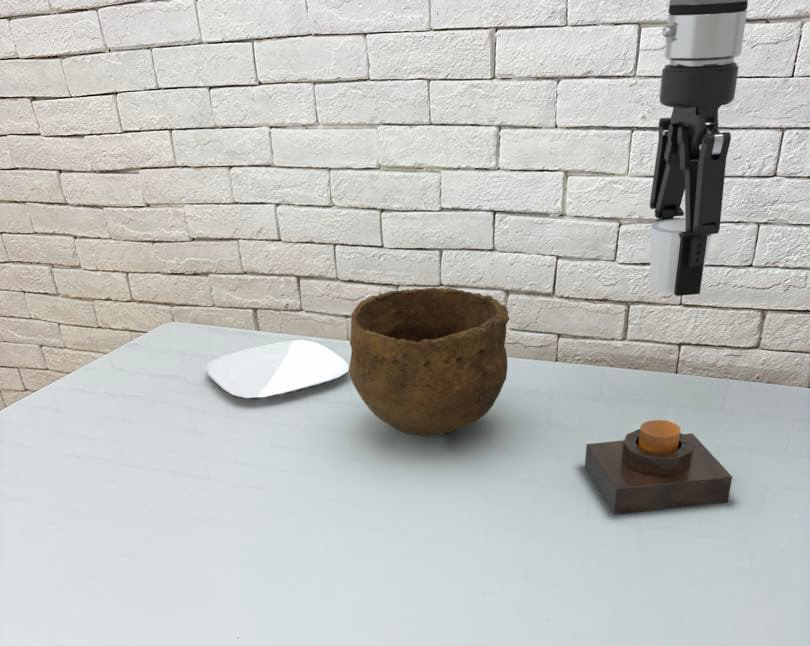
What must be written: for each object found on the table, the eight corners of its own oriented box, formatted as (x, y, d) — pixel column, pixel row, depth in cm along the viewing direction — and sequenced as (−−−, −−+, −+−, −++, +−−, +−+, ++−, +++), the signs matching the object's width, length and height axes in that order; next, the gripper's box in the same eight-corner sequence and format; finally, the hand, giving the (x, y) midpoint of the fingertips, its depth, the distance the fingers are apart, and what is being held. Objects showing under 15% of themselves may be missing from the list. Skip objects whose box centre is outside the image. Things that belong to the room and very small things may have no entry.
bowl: (540, 434, 102) (545, 312, 94) (405, 479, 95) (398, 351, 86) (454, 384, 116) (451, 274, 108) (330, 420, 108) (317, 304, 100)
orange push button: (669, 435, 90) (671, 418, 89) (684, 453, 87) (686, 435, 86) (632, 439, 90) (634, 422, 89) (646, 457, 87) (648, 438, 86)
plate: (241, 414, 111) (239, 402, 110) (196, 371, 124) (194, 360, 123) (363, 381, 118) (362, 370, 117) (309, 344, 132) (308, 333, 131)
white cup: (717, 286, 100) (727, 224, 96) (677, 299, 97) (685, 235, 93) (672, 274, 105) (679, 214, 101) (632, 286, 102) (637, 225, 98)
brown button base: (688, 457, 96) (694, 416, 93) (727, 502, 87) (735, 458, 85) (584, 468, 95) (587, 427, 92) (613, 514, 86) (618, 471, 84)
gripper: (633, 57, 96) (616, 264, 108) (704, 72, 79) (675, 314, 92) (697, 52, 96) (673, 259, 109) (782, 66, 80) (742, 307, 92)
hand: (674, 284), depth 100 cm, fingers closed on white cup, 7 cm apart
